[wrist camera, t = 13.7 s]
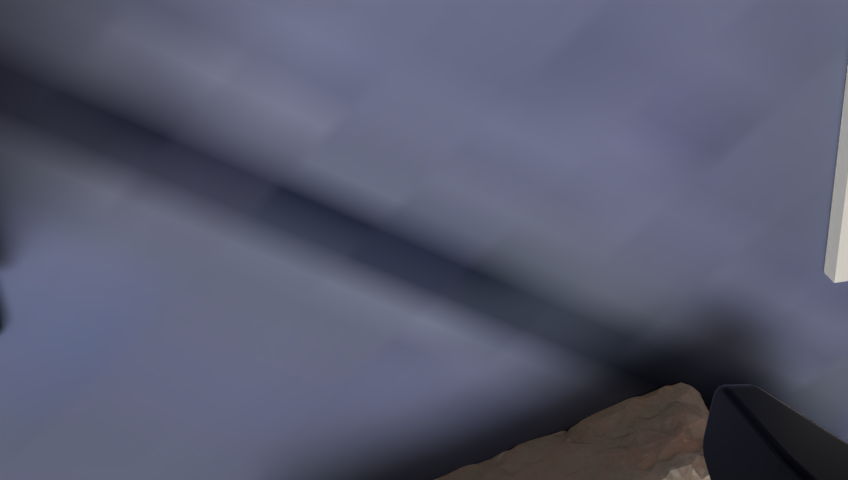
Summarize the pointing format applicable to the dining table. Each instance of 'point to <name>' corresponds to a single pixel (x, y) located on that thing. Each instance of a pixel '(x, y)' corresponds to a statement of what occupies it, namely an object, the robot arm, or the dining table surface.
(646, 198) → the dining table surface
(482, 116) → the dining table surface
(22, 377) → the dining table surface
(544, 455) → the brick
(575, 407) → the dining table surface
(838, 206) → the pad
